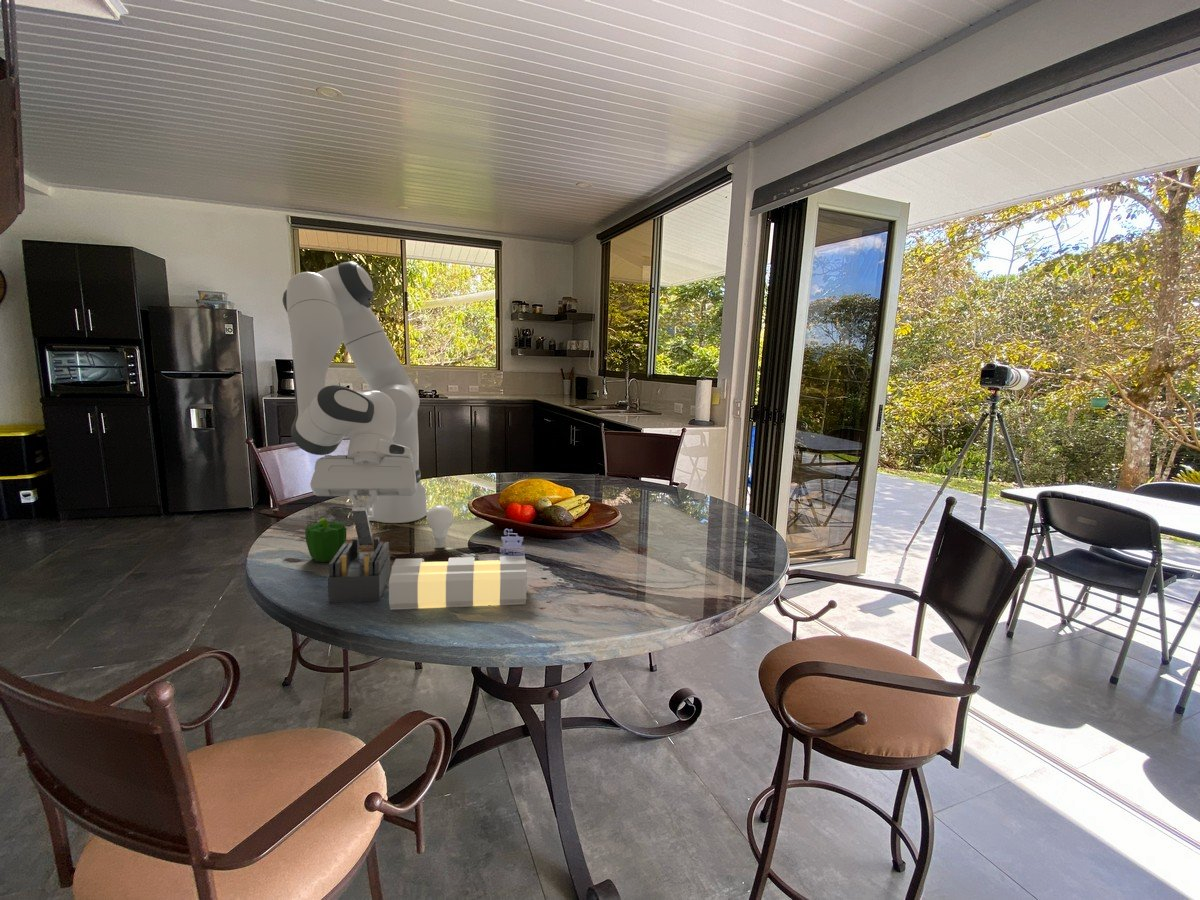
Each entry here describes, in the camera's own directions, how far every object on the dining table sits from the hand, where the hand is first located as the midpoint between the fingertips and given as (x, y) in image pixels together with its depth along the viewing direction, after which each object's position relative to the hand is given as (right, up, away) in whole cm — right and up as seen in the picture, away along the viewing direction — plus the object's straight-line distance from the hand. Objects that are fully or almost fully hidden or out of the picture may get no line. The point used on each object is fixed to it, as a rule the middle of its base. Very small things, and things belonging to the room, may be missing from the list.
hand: (360, 512), depth 106 cm
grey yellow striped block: (+21, -17, -2) cm, 27 cm away
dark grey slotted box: (0, -15, 0) cm, 15 cm away
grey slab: (0, -4, 0) cm, 4 cm away
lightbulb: (+8, -12, +25) cm, 29 cm away
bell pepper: (-15, -12, +15) cm, 24 cm away
